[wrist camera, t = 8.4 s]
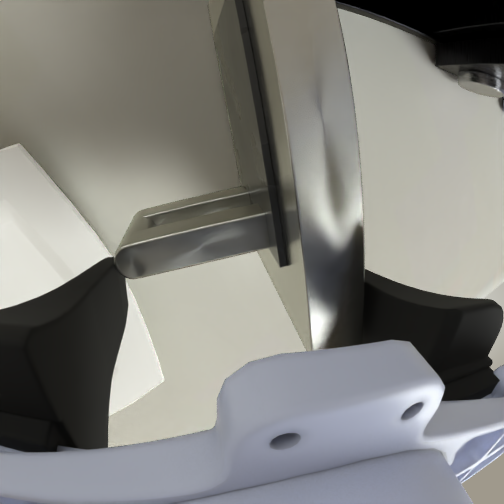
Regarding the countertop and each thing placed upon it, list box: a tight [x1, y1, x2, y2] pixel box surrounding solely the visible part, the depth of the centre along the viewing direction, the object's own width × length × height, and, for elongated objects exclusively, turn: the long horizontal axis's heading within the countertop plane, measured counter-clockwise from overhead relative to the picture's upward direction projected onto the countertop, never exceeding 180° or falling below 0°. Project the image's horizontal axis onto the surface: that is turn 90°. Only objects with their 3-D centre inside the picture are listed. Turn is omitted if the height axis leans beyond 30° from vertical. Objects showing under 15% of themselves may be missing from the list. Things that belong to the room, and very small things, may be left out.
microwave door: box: [114, 0, 365, 351], centre depth 10 cm, size 7×13×10 cm, turn 10°
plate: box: [0, 143, 165, 416], centre depth 15 cm, size 19×19×2 cm
